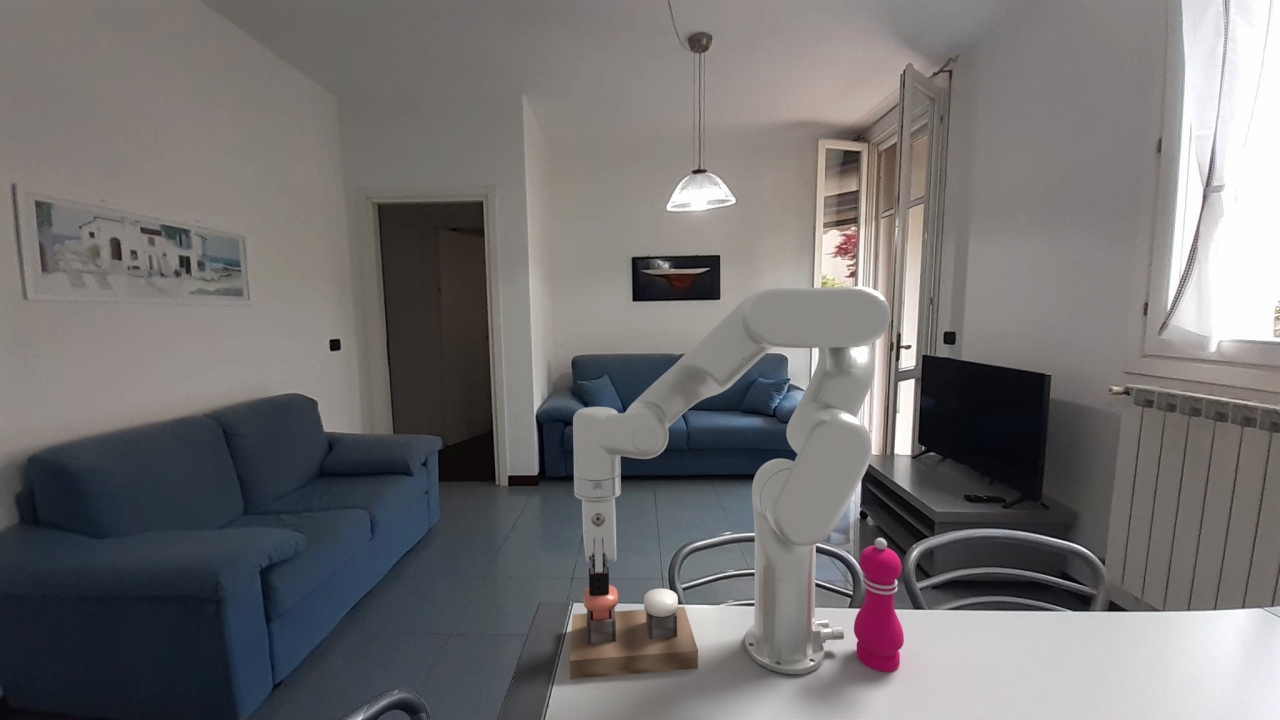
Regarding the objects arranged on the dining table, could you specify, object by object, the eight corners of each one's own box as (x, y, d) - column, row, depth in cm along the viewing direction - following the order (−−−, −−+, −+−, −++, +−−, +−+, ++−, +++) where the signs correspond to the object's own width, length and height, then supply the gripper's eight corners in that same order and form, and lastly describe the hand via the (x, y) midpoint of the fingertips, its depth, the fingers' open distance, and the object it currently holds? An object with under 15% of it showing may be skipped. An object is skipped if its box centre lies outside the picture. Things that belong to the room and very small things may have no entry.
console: (684, 622, 91) (684, 588, 90) (698, 668, 79) (697, 629, 78) (573, 630, 89) (572, 595, 88) (569, 679, 77) (568, 638, 77)
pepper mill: (909, 677, 76) (913, 550, 75) (858, 671, 78) (861, 547, 76) (895, 646, 83) (898, 530, 82) (849, 641, 85) (851, 527, 83)
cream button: (675, 616, 87) (674, 587, 87) (680, 636, 82) (680, 606, 81) (643, 618, 87) (642, 589, 86) (646, 639, 81) (645, 608, 81)
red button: (617, 611, 86) (616, 582, 86) (619, 632, 81) (618, 601, 80) (584, 614, 86) (583, 584, 85) (583, 634, 80) (583, 603, 80)
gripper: (623, 500, 74) (624, 618, 76) (618, 469, 89) (619, 569, 90) (572, 502, 73) (574, 621, 75) (575, 470, 88) (577, 571, 90)
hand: (599, 592), depth 83 cm, fingers closed
